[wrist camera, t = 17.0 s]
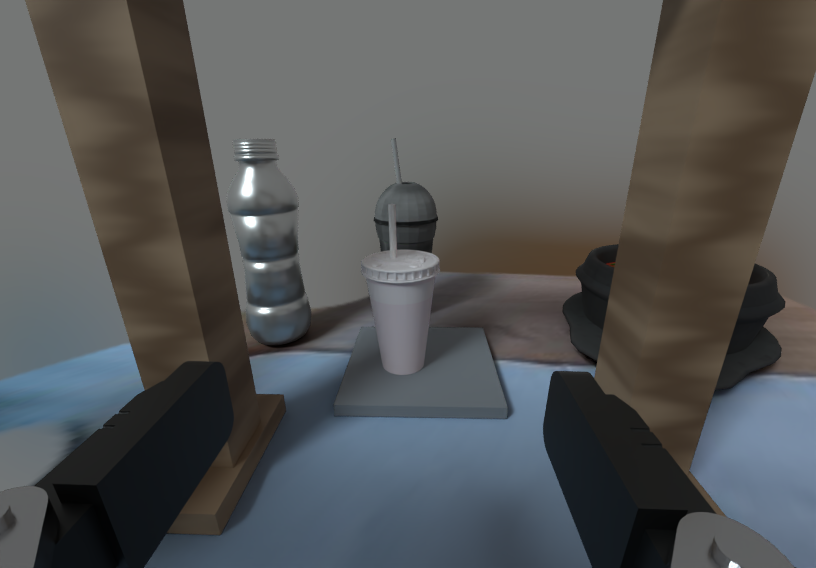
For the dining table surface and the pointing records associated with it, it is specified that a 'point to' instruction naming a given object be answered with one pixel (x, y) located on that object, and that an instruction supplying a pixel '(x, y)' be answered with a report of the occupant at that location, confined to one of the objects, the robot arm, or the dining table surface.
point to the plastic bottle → (268, 244)
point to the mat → (424, 379)
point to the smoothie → (401, 301)
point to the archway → (637, 251)
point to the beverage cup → (406, 214)
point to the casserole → (749, 336)
